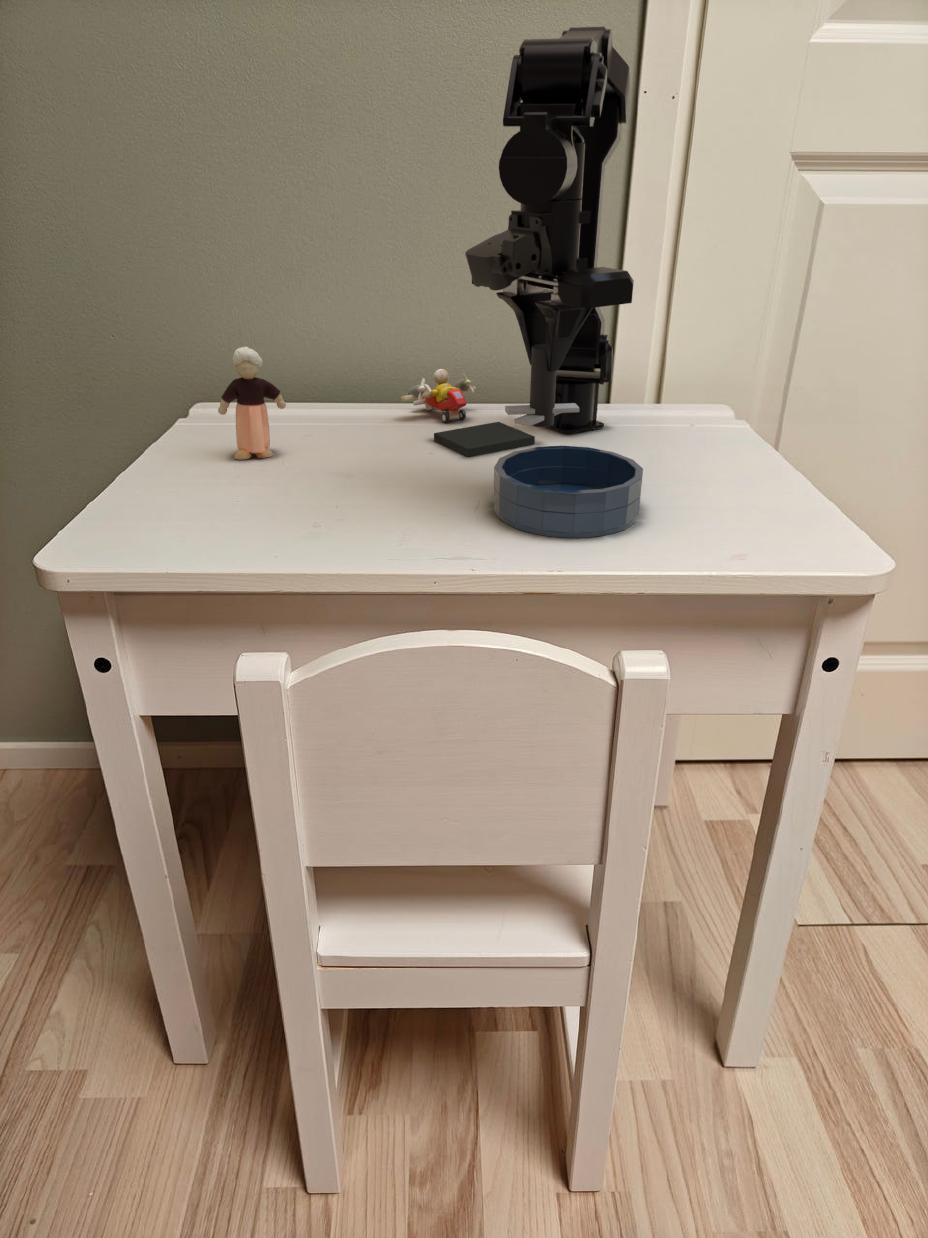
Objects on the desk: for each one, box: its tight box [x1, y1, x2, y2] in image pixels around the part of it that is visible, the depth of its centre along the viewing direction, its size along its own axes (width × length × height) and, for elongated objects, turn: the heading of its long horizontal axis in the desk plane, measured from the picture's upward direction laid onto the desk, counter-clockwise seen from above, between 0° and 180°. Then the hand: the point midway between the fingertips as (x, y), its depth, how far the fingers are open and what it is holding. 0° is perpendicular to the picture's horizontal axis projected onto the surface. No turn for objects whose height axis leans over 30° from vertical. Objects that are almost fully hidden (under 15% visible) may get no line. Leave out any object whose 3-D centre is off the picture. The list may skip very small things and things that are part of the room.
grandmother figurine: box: [217, 346, 287, 461], centre depth 101 cm, size 8×4×13 cm, turn 117°
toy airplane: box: [400, 368, 477, 423], centre depth 118 cm, size 9×9×6 cm
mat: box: [433, 421, 536, 458], centre depth 108 cm, size 10×8×1 cm
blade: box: [504, 344, 579, 428], centre depth 89 cm, size 8×5×8 cm, turn 123°
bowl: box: [492, 445, 644, 539], centre depth 87 cm, size 15×15×4 cm
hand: (543, 368), depth 88 cm, fingers closed on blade, 2 cm apart
